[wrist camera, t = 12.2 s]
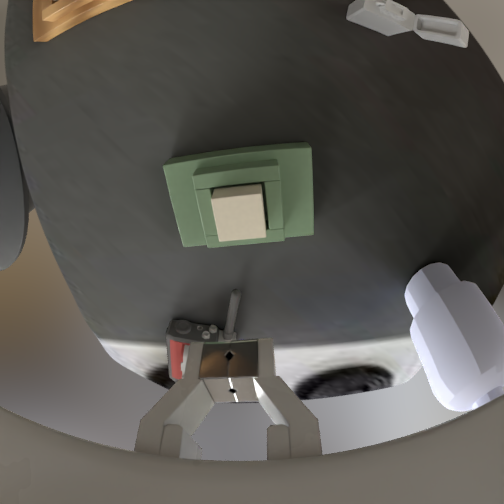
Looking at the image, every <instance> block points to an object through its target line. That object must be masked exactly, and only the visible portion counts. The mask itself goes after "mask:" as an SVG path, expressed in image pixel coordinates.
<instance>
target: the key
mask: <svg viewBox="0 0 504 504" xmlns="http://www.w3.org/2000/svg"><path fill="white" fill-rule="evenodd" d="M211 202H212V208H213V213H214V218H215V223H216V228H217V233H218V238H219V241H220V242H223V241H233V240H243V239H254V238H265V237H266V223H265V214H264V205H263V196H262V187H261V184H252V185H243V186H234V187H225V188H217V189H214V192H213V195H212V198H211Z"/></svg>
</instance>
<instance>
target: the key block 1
mask: <svg viewBox="0 0 504 504" xmlns="http://www.w3.org/2000/svg"><path fill="white" fill-rule="evenodd" d="M130 1H132V0H58V1H54V0H33V38H34V41H39V42H47V41H49V40H50V39H52V38H54V37H55V36H57V35H59V34H61V33H62V32H64V31H66V30H68V29H70V28H71V27H73V26H75V25H77V24H79V23H81V22H83V21H85V20H87V19H89V18H91V17H93V16H96V15H98V14H100V13H102V12H105V11H107V10H109V9H112V8H114V7H117V6H119V5H122V4H124V3H127V2H130Z"/></svg>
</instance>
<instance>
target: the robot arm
mask: <svg viewBox="0 0 504 504" xmlns="http://www.w3.org/2000/svg"><path fill="white" fill-rule="evenodd" d="M257 401H259V402H260V404H261V405H262V407H263V408H264V409H265V411H266V412H267V414H268V415H269V417H270V418H271V419H272V421H273V422H274V423H275V425H270V426H269V427H268V428H267V460H263V461H214V460H201V455H202V448H201V447H200V446H199V445H198V444H197V443H196V442H195V441H194V440H193V439H192V438H191V436H192V435H193V433H194V432H195V431H196V429H197V428H198V427H199V425H200V424H201V422H202V421H203V420H204V418H205V417H206V416H207V414H208V412H209V411H210V410H211V408H212V407H213V406H214V404H215V403H220V402H257ZM0 504H504V394H503V395H501V396H499V397H497V398H495V399H494V400H492V401H490V402H488V403H486V404H484V405H482V406H480V407H478V408H476V409H474V410H472V411H470V412H467V413H465V414H463V415H461V416H459V417H456V418H454V419H452V420H449V421H447V422H444V423H441V424H439V425H436V426H434V427H431V428H428V429H426V430H423V431H420V432H417V433H414V434H411V435H407V436H405V437H401V438H398V439H394V440H391V441H387V442H383V443H380V444H376V445H371V446H367V447H363V448H358V449H353V450H348V451H343V452H337V453H331V454H325V455H322V447H321V439H320V431H319V424H318V419H317V418H316V417H315V416H314V415H313V414H312V413H311V411H310V410H309V409H308V408H307V407H306V406H305V405H304V404H303V403H302V401H301V400H300V399H299V398H298V397H297V396H296V395H295V394H294V392H293V391H292V390H291V389H290V388H289V387H288V386H287V384H286V383H285V382H284V381H283V380H282V379H281V378H280V376H276V367H275V357H274V347H273V338H265V339H249V340H235V341H225V342H191V344H190V346H189V350H188V356H187V361H186V367H185V372H184V378H183V379H179V380H178V381H177V382H176V383H175V384H174V385H173V386H172V388H171V389H170V390H169V391H168V392H167V393H166V394H165V395H164V396H163V397H162V398H161V399H160V400H159V401H158V402H157V403H156V404H155V405H154V406H153V407H152V409H150V411H149V412H148V413H147V414H146V415H145V416H144V417H143V418H142V419H141V420H140V425H139V429H138V434H137V439H136V444H135V449H134V451H130V450H125V449H120V448H116V447H111V446H107V445H103V444H99V443H95V442H92V441H88V440H84V439H81V438H78V437H74V436H71V435H68V434H65V433H62V432H59V431H57V430H54V429H51V428H48V427H46V426H43V425H41V424H38V423H36V422H33V421H31V420H28V419H26V418H24V417H21V416H19V415H17V414H15V413H13V412H11V411H8V410H6V409H5V408H3V407H1V406H0Z"/></svg>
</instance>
